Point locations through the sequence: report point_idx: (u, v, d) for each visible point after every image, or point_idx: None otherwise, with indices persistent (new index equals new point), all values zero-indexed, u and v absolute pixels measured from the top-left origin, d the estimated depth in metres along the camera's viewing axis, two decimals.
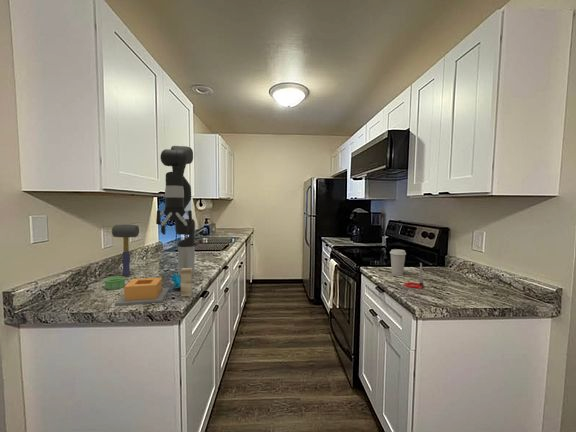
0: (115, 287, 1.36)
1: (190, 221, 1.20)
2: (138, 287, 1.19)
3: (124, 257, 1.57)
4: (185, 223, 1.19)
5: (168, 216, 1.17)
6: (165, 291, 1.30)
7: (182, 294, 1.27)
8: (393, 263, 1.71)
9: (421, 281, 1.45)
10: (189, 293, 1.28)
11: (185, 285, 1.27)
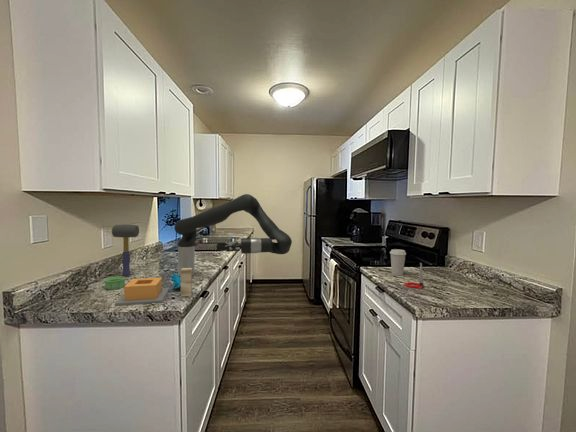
0: (115, 287, 1.36)
1: None
2: (138, 287, 1.19)
3: (124, 257, 1.57)
4: None
5: None
6: (165, 291, 1.30)
7: (182, 294, 1.27)
8: (393, 263, 1.71)
9: (421, 281, 1.45)
10: (189, 293, 1.28)
11: (185, 285, 1.27)
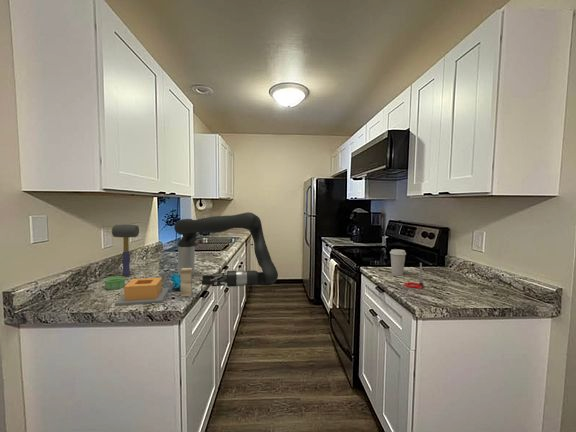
0: (115, 287, 1.36)
1: None
2: (138, 287, 1.19)
3: (124, 257, 1.57)
4: None
5: None
6: (165, 291, 1.30)
7: (182, 294, 1.27)
8: (393, 263, 1.71)
9: (421, 281, 1.45)
10: (189, 293, 1.28)
11: (185, 285, 1.27)
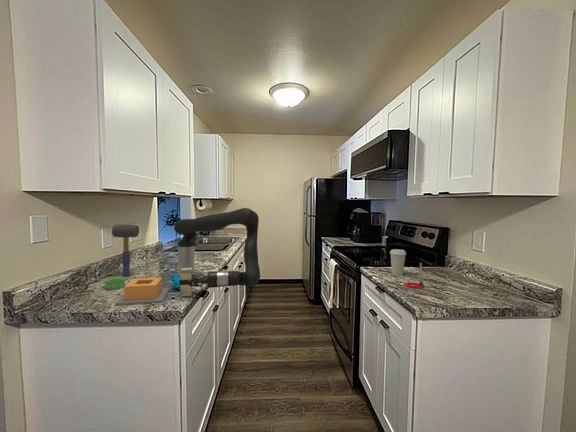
0: (115, 287, 1.36)
1: None
2: (138, 287, 1.19)
3: (124, 257, 1.57)
4: None
5: None
6: (165, 291, 1.30)
7: (182, 294, 1.27)
8: (393, 263, 1.71)
9: (421, 281, 1.45)
10: (189, 293, 1.28)
11: None
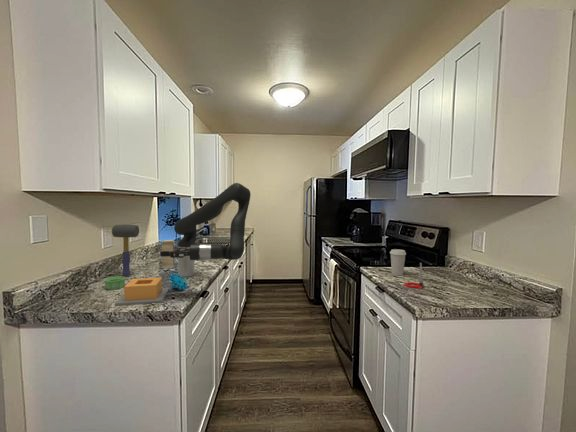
0: (115, 287, 1.36)
1: None
2: (138, 287, 1.19)
3: (124, 257, 1.57)
4: None
5: None
6: (165, 291, 1.30)
7: (163, 266, 1.24)
8: (393, 263, 1.71)
9: (421, 281, 1.45)
10: (171, 265, 1.25)
11: (166, 256, 1.25)
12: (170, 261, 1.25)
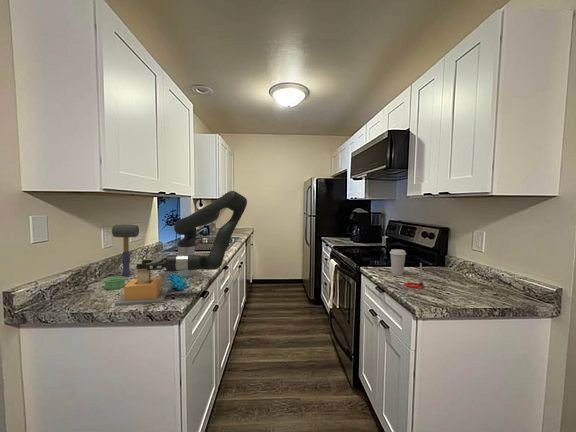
0: (115, 287, 1.36)
1: None
2: (138, 287, 1.19)
3: (124, 257, 1.57)
4: None
5: None
6: (165, 291, 1.30)
7: None
8: (393, 263, 1.71)
9: (421, 281, 1.45)
10: None
11: None
12: None
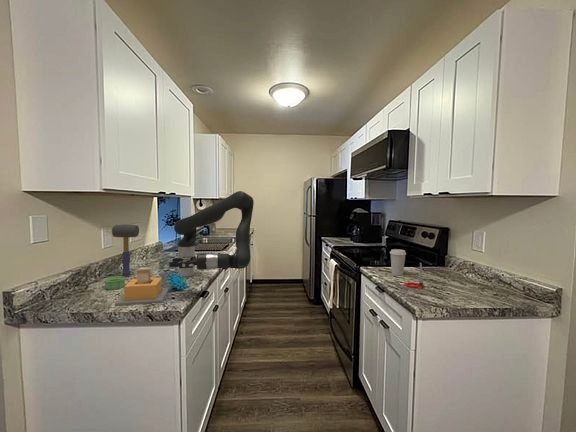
0: (115, 287, 1.36)
1: None
2: (138, 287, 1.19)
3: (124, 257, 1.57)
4: None
5: None
6: (165, 291, 1.30)
7: None
8: (393, 263, 1.71)
9: (421, 281, 1.45)
10: None
11: None
12: None
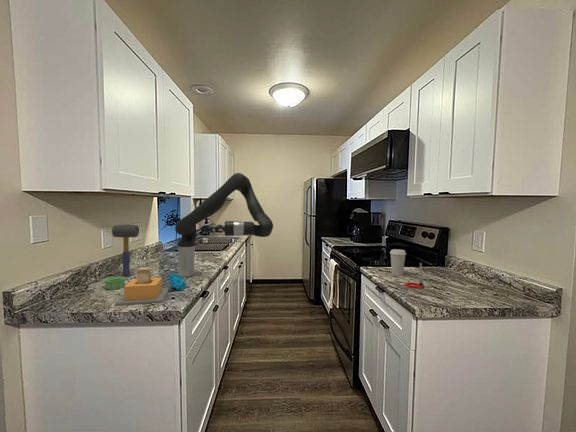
0: (115, 287, 1.36)
1: None
2: (138, 287, 1.19)
3: (124, 257, 1.57)
4: None
5: (217, 232, 1.38)
6: (165, 291, 1.30)
7: None
8: (393, 263, 1.71)
9: (421, 281, 1.45)
10: None
11: None
12: None
